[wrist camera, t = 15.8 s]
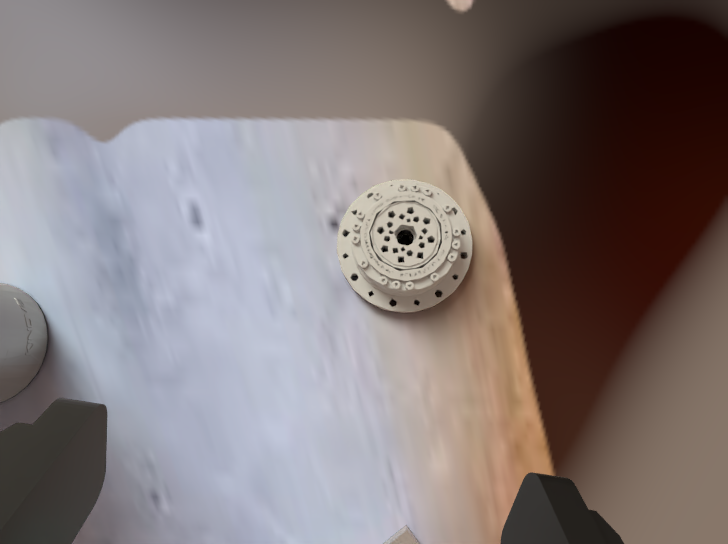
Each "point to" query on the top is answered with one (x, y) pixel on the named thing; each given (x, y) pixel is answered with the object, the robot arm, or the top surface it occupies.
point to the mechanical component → (414, 275)
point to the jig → (402, 537)
